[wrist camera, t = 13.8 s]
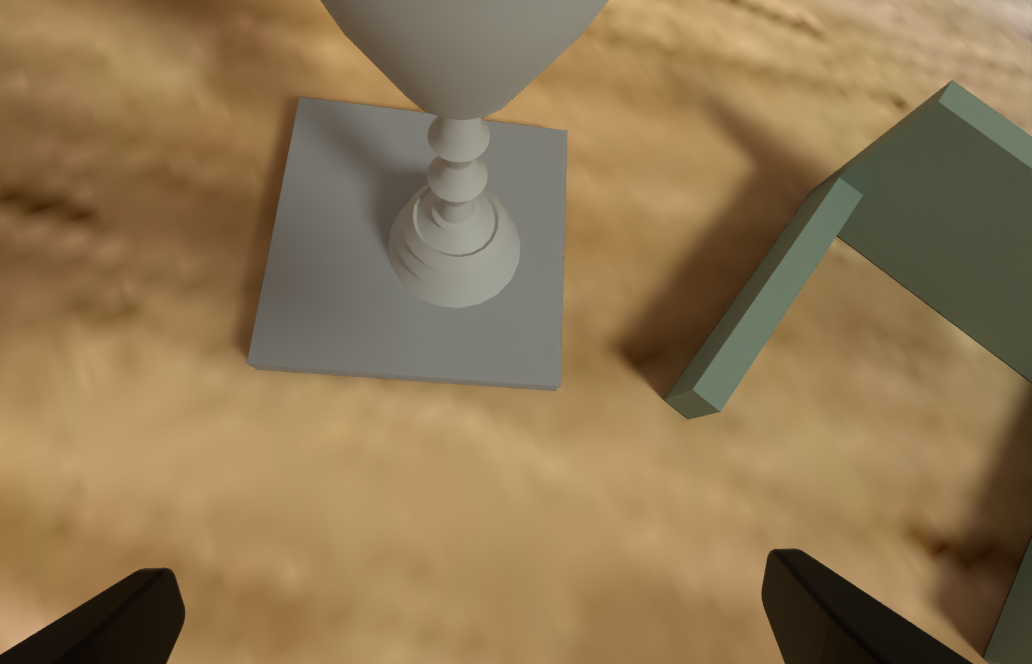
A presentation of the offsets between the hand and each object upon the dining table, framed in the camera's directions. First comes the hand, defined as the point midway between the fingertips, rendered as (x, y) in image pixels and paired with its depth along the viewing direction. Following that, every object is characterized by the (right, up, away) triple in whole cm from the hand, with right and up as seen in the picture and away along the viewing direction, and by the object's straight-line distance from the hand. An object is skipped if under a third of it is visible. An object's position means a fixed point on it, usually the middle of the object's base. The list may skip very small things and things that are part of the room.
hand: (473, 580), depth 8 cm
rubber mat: (-3, +7, +13) cm, 15 cm away
